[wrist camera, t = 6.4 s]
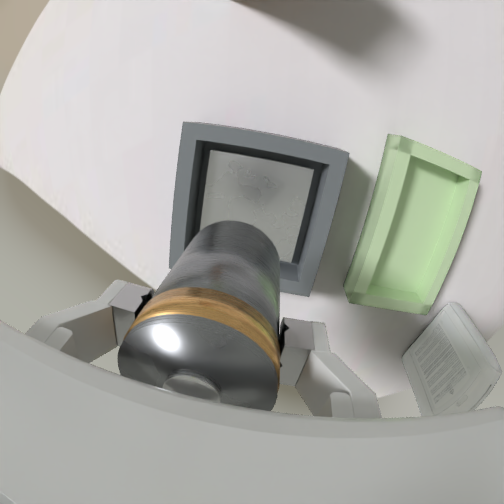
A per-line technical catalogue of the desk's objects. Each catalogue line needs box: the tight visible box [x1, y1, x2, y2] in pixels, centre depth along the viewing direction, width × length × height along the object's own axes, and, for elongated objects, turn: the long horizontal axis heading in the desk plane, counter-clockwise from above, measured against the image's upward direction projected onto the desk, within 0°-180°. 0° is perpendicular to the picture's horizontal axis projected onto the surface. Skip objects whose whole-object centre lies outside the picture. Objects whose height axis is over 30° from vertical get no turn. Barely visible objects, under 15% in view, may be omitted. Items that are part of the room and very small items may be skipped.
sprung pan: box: [200, 149, 314, 263], centre depth 23 cm, size 8×8×1 cm
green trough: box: [343, 134, 482, 315], centre depth 23 cm, size 9×15×3 cm, turn 170°
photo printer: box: [402, 303, 502, 416], centre depth 24 cm, size 10×4×12 cm, turn 156°
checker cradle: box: [169, 122, 349, 297], centre depth 23 cm, size 12×12×5 cm
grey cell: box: [118, 220, 280, 411], centre depth 11 cm, size 5×5×8 cm
